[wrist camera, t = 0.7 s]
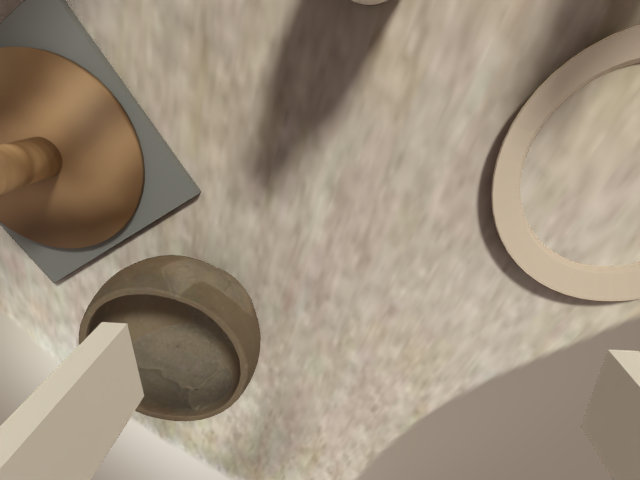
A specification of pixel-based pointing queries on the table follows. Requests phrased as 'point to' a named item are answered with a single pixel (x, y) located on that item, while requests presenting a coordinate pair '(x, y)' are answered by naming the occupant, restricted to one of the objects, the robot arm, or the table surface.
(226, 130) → the table surface
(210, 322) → the bowl
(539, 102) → the plate
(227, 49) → the table surface
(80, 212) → the lid
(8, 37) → the mat
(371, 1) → the milk bottle
